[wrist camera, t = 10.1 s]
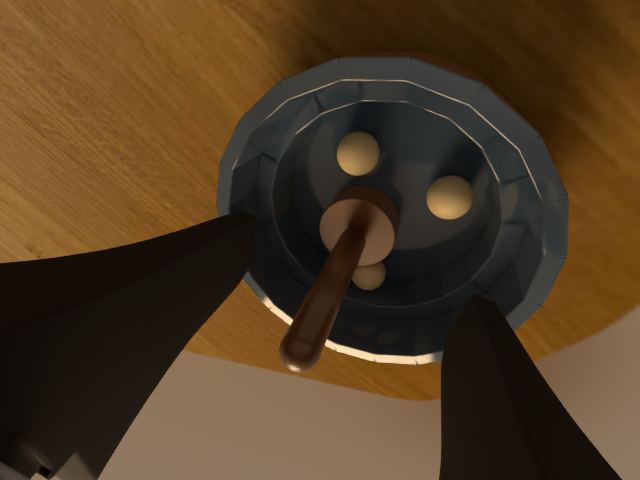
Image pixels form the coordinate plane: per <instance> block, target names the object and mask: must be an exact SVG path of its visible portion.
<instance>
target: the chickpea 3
mask: <svg viewBox="0 0 640 480" xmlns="http://www.w3.org/2000/svg"><path fill="white" fill-rule="evenodd" d="M473 200H474V193H473V189H472V187H471V185H470V184H469V183H468V182H467V181H466V180H465V179H463V178H461V177H459V176H453V175H450V176H444V177H441V178H439V179H438V180H436V181H435V182H434V183H433V184H432V185H431V186H430V188H429V190H428V193H427V205H428V207H429V209H430V211H431V212H432V213H433V214H434V215H436V216H437V217H439V218H442V219H456V218H459V217H461V216H463V215H464V214H465V213H466V212H468V210H469V209H470V208H471V206H472V204H473Z"/></svg>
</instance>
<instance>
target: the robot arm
mask: <svg viewBox="0 0 640 480" xmlns="http://www.w3.org/2000/svg"><path fill="white" fill-rule="evenodd" d="M255 228H256V216H254V215H251V214H248V213H246V212H243V211H237V212H233V213H230V214H227V215H224V216H221V217H218V218H215V219H212V220H209V221H206V222H203V223H200V224H198V225H195V226H192V227H189V228H186V229H183V230H179V231H176V232H173V233H169V234H166V235H162V236H159V237H156V238H152V239H149V240H145V241H141V242H137V243H133V244H129V245H124V246H120V247H115V248H110V249H106V250H100V251H94V252H88V253H82V254H75V255H69V256H63V257H56V258H48V259H39V260H30V261H20V262H9V263H0V480H30V479H31V477H32V476H33V475H34V474H35V473H38V474H39V475H41V476H43V477H44V478H46V479H48V480H50V479H51V478H53V477H54V476H56V477H58V478H60V479H62V480H97V479H98V477H99V476H100V474H101V473H102V471H103V469H104V467H105V466H106V464H107V462H108V461H109V459H110V458H111V456H112V454H113V453H114V451H115V449H116V448H117V446H118V445H119V443H120V441H121V440H122V438H123V436H124V435H125V433H126V432H127V430H128V428H129V427H130V425H131V424H132V422H133V421H134V419H135V417H136V416H137V415H138V413H139V412H140V410H141V409H142V407H143V405H144V404H145V402H146V401H147V399H148V398H149V396H150V395H151V393H152V392H153V391H154V389H155V387H156V386H157V385H158V383H159V382H160V380H161V379H162V377H163V376H164V375H165V373H166V372H167V370H168V369H169V367H170V366H171V365H172V363H173V362H174V361H175V359H176V358H177V356H178V355H179V354H180V352H181V351H182V350H183V348H184V347H185V345H186V344H187V343H188V342H189V340H190V339H191V338H192V337H193V336H194V334H195V333H196V332H197V331H198V330H199V329H200V328H201V326H202V325H203V324H204V323H205V322H206V321H207V320H208V319H209V317H210V316H211V315H212V314H213V313H214V312H215V311H216V310H217V308H218V307H219V306H220V305H221V304H222V303H223V302H224V301H225V299H226V298H227V297H228V296H229V295H230V294H231V293H232V292H233V290H234V289H235V288H236V287H237V286H238V284H239V283H240V282H241V280H242V279H243V277H244V276H245V274H246V273H247V271H248V270H249V268H250V267H251V265H252V263H253V257H254V242H255ZM441 435H442V437H441V440H442V441H441V442H442V443H441V444H442V445H441V466H440V477H439V480H622V479H621V478H620V477H619V475H618V474H617V473H616V472H615V471H614V470H613V468H612V467H611V466H610V465H609V464H608V463H607V461H606V460H605V459H604V458H603V456H602V455H601V454H600V453H599V451H598V450H597V449H596V448H595V446H594V445H593V444H592V443H591V441H590V440H589V439H588V438H587V436H586V435H585V434H584V433H583V432H582V430H581V429H580V428H579V426H578V425H577V424H576V422H575V421H574V420H573V419H572V417H571V416H570V414H569V413H568V412H567V410H566V409H565V408H564V407H563V405H562V403H561V402H560V401H559V399H558V398H557V396H556V395H555V394H554V392H553V391H552V389H551V388H550V387H549V385H548V384H547V382H546V381H545V379H544V378H543V376H542V375H541V373H540V372H539V370H538V369H537V367H536V366H535V364H534V363H533V361H532V360H531V358H530V357H529V355H528V353H527V352H526V350H525V349H524V347H523V345H522V344H521V342H520V341H519V339H518V337H517V336H516V334H515V333H514V331H513V329H512V328H511V326H510V325H509V323H508V321H507V320H506V318H505V316H504V315H503V313H502V312H501V310H500V309H499V307H498V306H497V304H496V303H495V302H494V301H491V300H488V299H485V298H483V297H480V296H477V295H473V296H472V298H471V299H470V301H469V302H468V304H467V305H466V307H465V308H464V310H463V311H462V313H461V314H460V316H459V317H458V319H457V320H456V321H455V323H454V324H453V326H452V327H451V329H450V330H449V332H448V333H447V335H446V336H445V341H444V348H443V355H442V363H441Z"/></svg>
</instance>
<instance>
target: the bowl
mask: <svg viewBox="0 0 640 480" xmlns="http://www.w3.org/2000/svg"><path fill="white" fill-rule="evenodd" d="M353 132H365V133H368V134H370V135H371V136H372V137H374V139H375V140H376V141H377V143H378V146H379V150H380V156H379V160H378V163H377V165H376V166H375V167H374V169H373V170H371V171H370V172H369V173H367V174H364V175H360V176H356V175H351V174H349V173H347V172H345V171H344V170H343V169H342V168H341V166H340V165H339V163H338V160H337V149H338V146H339V144H340V142H341V140H342V139H343V138H344V137H345V136H347V135H348V134H350V133H353ZM450 175H453V176H459V177H461V178H463V179H465V180H466V181H467V182H468V183H469V184H470V185H471V187H472V189H473V193H474V200H473V204H472V206H471V208H470V209H469V210H468V212H466V213H465V214H464V215H463V216H461V217H459V218H456V219H442V218H439V217H437V216H436V215H434V214H433V213H432V212H431V211H430V209H429V207H428V205H427V193H428V190H429V188H430V186H431V185H432V184H433V183H434V182H435V181H436V180H438V179H439V178H441V177H444V176H450ZM353 186H369V187H373V188H375V189H378V190H380V191H382V192H383V193H384V194H386V195H387V196H388V197H389V198H390V199H391V200H392V201H393V203H394V204H395V206H396V208H397V210H398V213H399V228H398V232H397V235H396V239H395V243H394V246H393V248H392V251H391V252H390V253H389V255H388V256H387V257H386V258H384V259H383V260H382V261H381V262H382V263H383V265H384V267H385V270H386V276H385V280H384V282H383V283H382V285H381V286H379V287H378V288H376V289H374V290H363V289H361V288H359V287H358V286H357V285H356V284H355V283H354V282H353V280H352V279H351V281H350V284H349V286H348V289H347V291H346V294H345V296H344V299H343V301H342V304H341V306H340V308H339V311H338V313H337V316H336V318H335V321H334V323H333V326H332V328H331V330H330V333H329V335H328V338H327V340H326V343H325V346H327V347H329V348H331V349H333V350H336V351H337V352H341V353H344V354H348V355H352V356H355V357H359V358H363V359H366V360H370V361H373V362H375V361H376V362H383V363H398V364H413V365H418V364H426V363H432V362H439V361H442V355H443V348H444V341H445V336H446V335H447V333H448V332H449V330H450V329H451V327H452V326H453V324H454V323H455V321H456V320H457V319H458V317H459V316H460V314H461V313H462V311H463V310H464V308H465V307H466V305H467V304H468V302H469V301H470V299H471V298H472V296H473V295H477V296H480V297H483V298H485V299H488V300H491V301H494V302H495V303H496V304H497V306H498V307H499V309H500V310H501V312H502V313H503V315H504V316H505V318H506V320H507V321H508V323H509V325H510V326H511V328H512V329H513V331H515V330H516V329H517V328H519V327H520V326H521V325H522V324H523V323H524V322H525V321H526V320H527V319H529V318H530V317H531V316H532V315H533V314H534V313H535V312H536V311H538V310H539V309H540V308H541V307H542V305H543V304H544V302H545V300H546V298H547V296H548V294H549V292H550V290H551V288H552V286H553V284H554V282H555V280H556V278H557V276H558V274H559V272H560V270H561V268H562V266H563V264H564V262H565V260H566V256H567V245H568V210H569V199H568V194H567V192H566V189H565V187H564V185H563V182H562V180H561V178H560V176H559V173H558V171H557V169H556V167H555V164H554V162H553V160H552V158H551V155H550V153H549V151H548V148H547V146H546V144H545V142H544V139H543V137H542V136H541V135H540V134H539V132H538V131H537V130H536V129H535V128H534V127H533V126H532V125H531V124H530V123H529V122H528V121H527V120H526V119H525V117H524V116H522V114H521V113H520V112H519V111H518V110H517V109H516V108H515V107H514V106H513V105H512V104H511V103H510V102H509V101H507V100H506V99H505V98H504V97H503V96H502V95H501V94H500V93H499V92H498V91H497V90H495V89H494V88H493V87H492V86H491V85H490V84H489V83H488V82H487V81H486V80H484V79H483V78H482V77H481V76H480V75H479V74H478V73H477V72H475V71H473V70H472V69H470V68H467V67H464V66H462V65H459V64H456V63H454V62H451V61H448V60H445V59H443V58H440V57H437V56H435V55H432V54H429V53H427V52H422V51H406V52H368V53H362V54H356V55H350V56H343V57H337V58H335V59H332V60H330V61H327V62H325V63H322V64H320V65H317V66H315V67H312V68H310V69H307V70H305V71H302V72H300V73H297V74H295V75H292V76H290V77H287V78H285V79H282V80H281V81H280V82H278V83H277V84H275V85H274V86H273V87H272V88H271V89H270V90H269V91H268V92H267V93H266V94H265V95H264V96H263V97H262V98H261V99H260V100H259V101H258V102H257V103H256V104H254V105H253V106H252V107H251V108H250V109H249V110H248V111H247V112H246V113H245V114H244V115H243V116H242V117H241V119H240V120H239V122H238V124H237V126H236V128H235V130H234V132H233V135H232V137H231V139H230V141H229V143H228V145H227V147H226V150H225V152H224V154H223V156H222V158H221V162H220V166H219V177H218V189H217V200H216V204H217V211H218V215H219V217H221V216H224V215H227V214H230V213H233V212H237V211H243V212H246V213H248V214H251V215H254V216H256V228H255V242H254V257H253V263H252V265H251V267H250V268H249V270H248V271H247V273H246V274H245V276H244V277H243V279H244V281H245V282H246V283H247V285H248V286H249V287H250V288H251V289H252V290H253V292H254V293H255V294H256V295H257V296H258V297H259V299H260V300H261V301H262V302H263V303H264V304H265V306H266V307H267V308H269V310H270V311H272V312H273V313H274V314H276V315H277V316H278V317H279V318H281V319H282V320H283V321H285V322H286V323H287V324H289V325H291V323H292V321H293V320H294V318H295V316H296V314H297V312H298V311H299V309H300V307H301V305H302V303H303V302H304V300H305V298H306V296H307V295H308V293H309V291H310V289H311V287H312V286H313V284H314V282H315V280H316V278H317V277H318V275H319V273H320V271H321V269H322V268H323V266H324V264H325V262H326V260H327V259H328V257H329V255H330V252H329V250H328V249H327V248H326V247H325V245H324V243H323V241H322V239H321V235H320V220H321V217H322V215H323V213H324V212H325V210H326V209H327V207H328V206H329V205H330V203H331V202H332V201H333V199H334V198H335V197H336V196H337V194H339V193H340V192H341V191H343V190H344V189H347V188H349V187H353Z"/></svg>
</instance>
